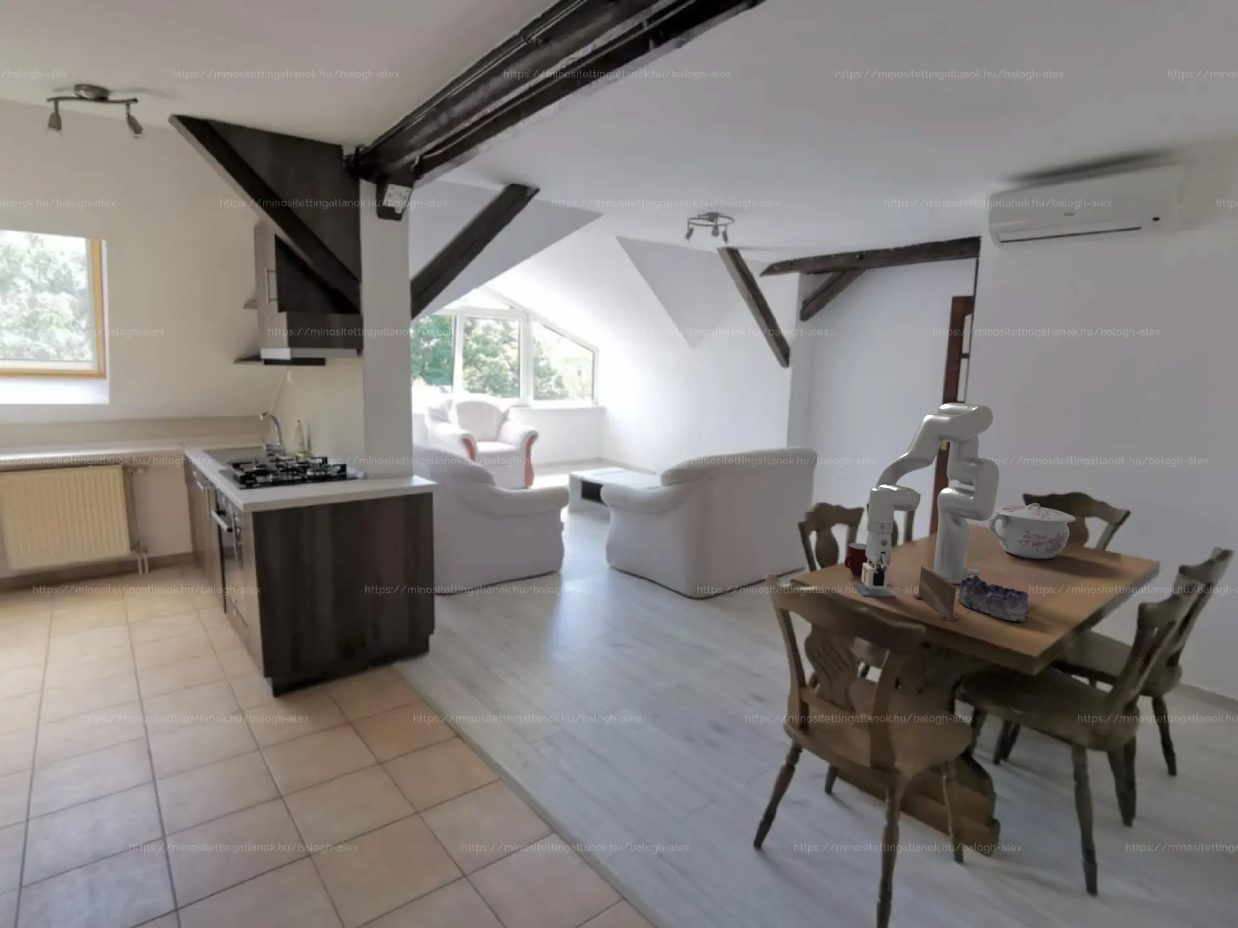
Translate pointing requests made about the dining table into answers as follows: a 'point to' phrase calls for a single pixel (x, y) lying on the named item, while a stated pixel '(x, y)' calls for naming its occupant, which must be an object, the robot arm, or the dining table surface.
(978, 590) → the geode
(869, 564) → the cube
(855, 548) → the mug
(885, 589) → the tile
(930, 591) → the screen
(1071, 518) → the chamber pot
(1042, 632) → the dining table surface
